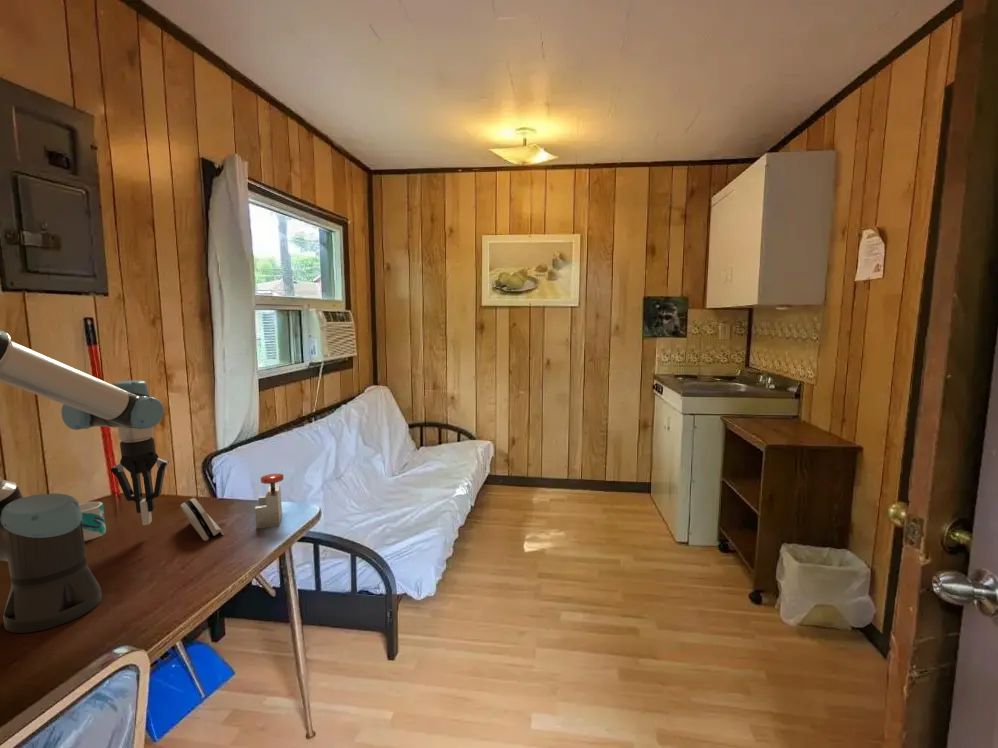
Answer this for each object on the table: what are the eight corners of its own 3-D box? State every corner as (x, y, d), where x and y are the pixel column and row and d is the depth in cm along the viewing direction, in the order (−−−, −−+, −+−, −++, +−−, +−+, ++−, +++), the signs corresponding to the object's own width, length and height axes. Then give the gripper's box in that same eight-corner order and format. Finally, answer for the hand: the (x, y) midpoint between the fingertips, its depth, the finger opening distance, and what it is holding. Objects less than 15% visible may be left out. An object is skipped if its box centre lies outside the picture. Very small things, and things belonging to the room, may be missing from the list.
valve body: (285, 524, 146) (282, 480, 144) (256, 529, 143) (252, 484, 142) (287, 512, 155) (284, 470, 154) (260, 515, 153) (257, 473, 151)
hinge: (224, 535, 140) (208, 505, 136) (207, 546, 137) (189, 515, 133) (209, 517, 152) (193, 490, 149) (192, 527, 149) (176, 499, 146)
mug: (66, 544, 136) (63, 514, 135) (70, 529, 145) (66, 501, 144) (105, 536, 141) (102, 507, 140) (106, 522, 150) (103, 495, 149)
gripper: (169, 432, 141) (178, 514, 145) (113, 437, 137) (124, 521, 140) (161, 439, 134) (171, 524, 138) (102, 444, 130) (113, 532, 133)
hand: (147, 523), depth 139 cm, fingers closed
